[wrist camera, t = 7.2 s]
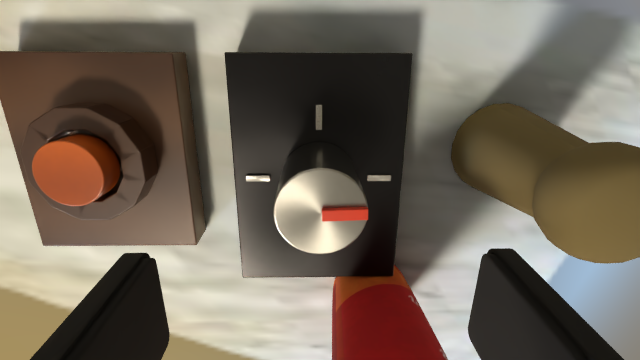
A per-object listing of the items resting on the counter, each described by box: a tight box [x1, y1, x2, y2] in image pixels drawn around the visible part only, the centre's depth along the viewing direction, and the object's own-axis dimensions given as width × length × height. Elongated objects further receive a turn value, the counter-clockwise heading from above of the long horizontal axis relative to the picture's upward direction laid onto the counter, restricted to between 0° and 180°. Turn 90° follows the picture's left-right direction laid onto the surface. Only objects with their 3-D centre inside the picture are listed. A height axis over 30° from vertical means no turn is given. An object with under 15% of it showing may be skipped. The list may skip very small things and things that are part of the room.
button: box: [32, 134, 120, 206], centre depth 19 cm, size 4×4×2 cm
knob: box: [273, 142, 368, 254], centre depth 19 cm, size 4×4×5 cm
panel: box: [225, 52, 412, 277], centre depth 22 cm, size 14×10×3 cm
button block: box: [0, 51, 206, 246], centre depth 21 cm, size 12×10×4 cm
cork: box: [451, 103, 640, 263], centre depth 19 cm, size 6×6×11 cm
